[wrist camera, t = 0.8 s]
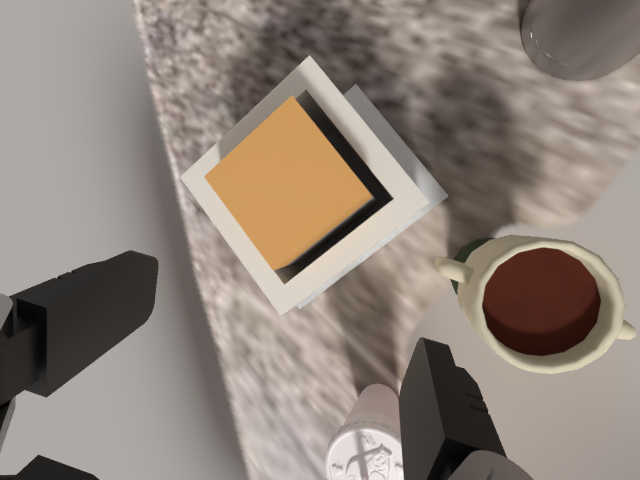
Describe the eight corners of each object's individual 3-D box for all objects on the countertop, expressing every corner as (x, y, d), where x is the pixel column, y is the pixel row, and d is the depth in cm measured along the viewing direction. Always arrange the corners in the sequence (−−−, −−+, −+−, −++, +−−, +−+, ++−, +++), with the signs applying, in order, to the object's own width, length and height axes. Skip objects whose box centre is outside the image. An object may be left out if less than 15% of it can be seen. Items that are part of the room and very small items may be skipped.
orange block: (321, 130, 27) (291, 95, 20) (378, 201, 27) (369, 192, 19) (253, 189, 29) (203, 176, 22) (306, 259, 28) (272, 270, 21)
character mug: (412, 289, 32) (418, 329, 20) (439, 215, 31) (464, 207, 19) (536, 335, 30) (634, 414, 17) (569, 257, 29) (697, 279, 17)
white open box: (357, 87, 33) (335, 20, 22) (447, 197, 31) (471, 181, 20) (226, 203, 36) (152, 194, 25) (302, 306, 35) (257, 343, 24)
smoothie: (333, 407, 34) (287, 526, 21) (369, 355, 33) (346, 444, 20) (389, 449, 33) (380, 605, 20) (428, 397, 32) (447, 523, 19)
